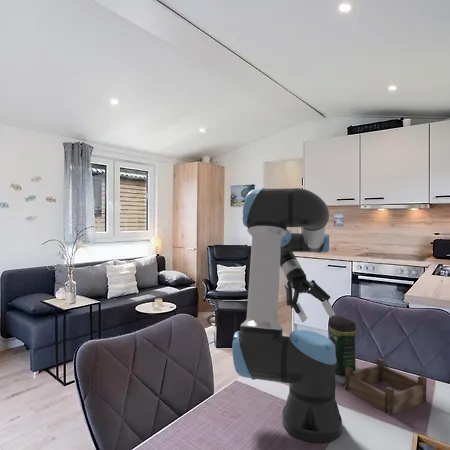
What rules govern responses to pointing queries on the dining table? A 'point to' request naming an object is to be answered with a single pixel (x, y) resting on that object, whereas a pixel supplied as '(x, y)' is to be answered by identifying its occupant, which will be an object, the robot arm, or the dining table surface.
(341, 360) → the coffee jar
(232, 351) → the robot arm
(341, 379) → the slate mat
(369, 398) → the wooden fruit crate
